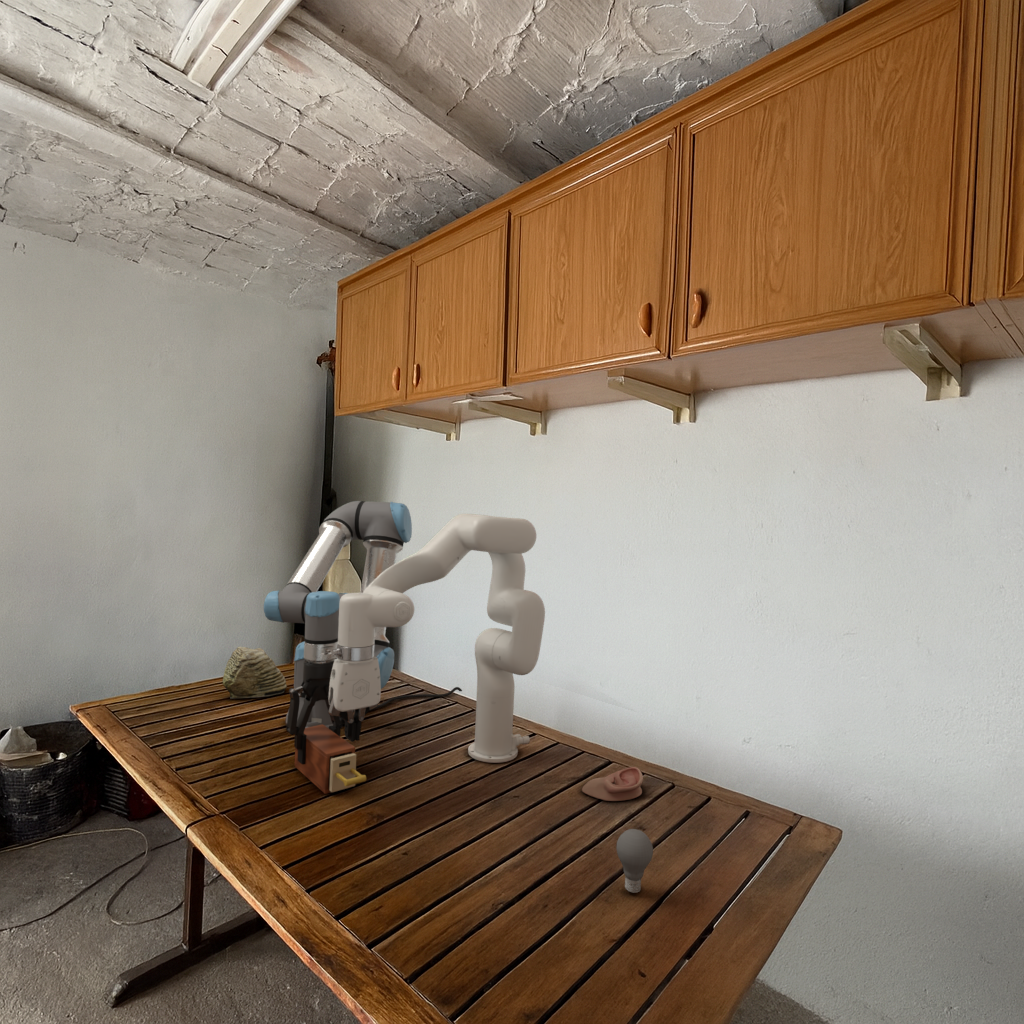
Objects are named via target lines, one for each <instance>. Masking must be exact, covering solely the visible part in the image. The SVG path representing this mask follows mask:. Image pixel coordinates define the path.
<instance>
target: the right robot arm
mask: <svg viewBox="0 0 1024 1024" xmlns="http://www.w3.org/2000/svg"><path fill="white" fill-rule="evenodd" d="M536 542H537V530H536V528H535V526H534V524H533V523H532V522H531V521H529V520H528V519H526V518H519V517H507V516H495V515H494V516H493V515H486V514H474V513H459V514H456V515H455V516H453V517H452V518H451V519H450V520H448V521H447V523H445V525H444V526H443V527H441V529H439V530H438V531H437V532H436V534H434V535H433V536H432V537H431V539H429V540H428V541H427V542H426V543H425V544H424V545H423V546H422V547H421V548H420V549H419V550H417V551H416V552H414V553H412V554H410V555H408V556H406V557H405V558H403V559H400V560H398V562H396V563H395V564H394V565H392V566H391V567H389V568H387V569H386V570H385V571H383V572H382V573H381V574H380V575H379V576H378V577H377V578H376V579H375V580H374V581H373V582H372V583H371V584H370V585H369V586H368V587H367V588H366V589H365V590H364V592H363V593H360V592H347V593H348V594H344V595H343V596H342V597H341V599H340V603H339V626H338V645H337V649H335V650H332V652H331V654H332V656H336V657H337V659H335V660H334V663H333V667H332V672H331V677H330V685H329V705H330V708H329V712H328V713H329V714H330V715H332V716H341V717H342V718H343V719H344V720H345V724H344V736H345V738H346V739H347V740H348V741H349V742H352V743H353V742H355V741H356V742H357V741H360V739H361V738H360V735H361V733H362V721H364V719H365V716H366V715H367V714H368V712H370V711H369V710H371V709H373V708H376V707H377V706H378V705H379V703H380V702H381V699H382V698H381V697H382V689H381V681H380V669H379V663H378V658H377V657H374V642H375V627H386V628H400V627H403V626H405V625H407V624H408V623H409V622H410V621H411V620H412V619H413V617H414V615H415V605H414V602H413V600H412V599H411V597H409V596H408V595H406V594H405V592H407V591H409V590H410V589H413V588H414V587H417V586H420V585H424V584H429V583H432V582H437V581H439V580H441V579H443V578H445V577H447V576H448V575H449V573H450V572H451V571H452V570H453V569H454V568H455V567H457V565H458V564H459V563H460V562H462V560H463V559H464V558H465V557H466V555H468V554H469V553H470V552H471V551H475V552H483V553H488V555H489V558H490V560H491V566H492V569H491V570H492V571H491V579H490V585H489V591H488V598H487V603H486V604H487V605H486V611H487V612H486V613H487V616H488V618H489V619H490V620H492V621H493V622H495V623H497V624H501V625H505V626H508V627H511V628H512V629H511V631H510V630H506V629H503V628H497V627H490V628H486V629H484V630H482V631H481V632H480V633H479V635H478V636H477V638H476V640H475V642H474V658H475V664H476V698H475V699H476V700H475V702H476V703H475V725H474V742H472V743H470V745H469V746H468V747H467V748H468V749H467V753H468V755H469V756H470V757H471V758H472V759H474V760H476V761H479V762H483V763H488V764H489V763H490V764H501V763H507V762H509V761H512V760H514V759H516V758H517V756H518V754H519V753H518V752H519V749H518V747H519V746H520V745H528V744H530V743H531V738H530V736H529V735H523V736H522V734H520V733H517V734H514V733H513V732H514V731H513V728H514V707H515V690H516V689H515V677H514V675H517V676H525V675H528V674H530V673H531V672H532V671H533V670H534V669H535V668H536V666H537V664H538V661H539V657H540V652H541V647H542V639H543V634H544V626H545V619H546V608H545V607H546V606H545V604H544V601H543V599H542V598H541V596H540V595H539V594H538V593H536V592H534V591H532V590H527V589H525V580H526V579H525V578H526V561H525V559H524V556H523V554H526V553H527V552H529V551H531V550H532V548H533V547H534V546H535V544H536ZM353 710H354V712H353ZM371 711H372V710H371Z"/></svg>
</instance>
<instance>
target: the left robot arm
mask: <svg viewBox="0 0 1024 1024" xmlns="http://www.w3.org/2000/svg"><path fill="white" fill-rule="evenodd" d="M412 533H413V523H412V516H411V512H410V509H409V508H408V506H407V505H406V504H405V503H401V502H393V501H371V500H370V501H369V500H367V501H366V500H365V501H364V500H354V501H350V502H347V503H345V504H343V505H341V506H339V507H337V508H336V509H334V510H333V511H332V512H331V513H329V515H327V516H326V517H325V518H324V519H323V521H322V523H321V524H320V526H319V528H318V535H317V537H316V539H314V541H313V543H312V544H311V546H310V547H309V549H308V551H307V552H306V554H305V555H304V557H303V558H302V560H301V561H300V563H299V565H298V566H297V568H296V569H295V570H294V572H293V574H292V576H291V577H290V579H289V580H288V582H287V583H286V585H285V586H284V587H283V589H282V590H280V589H279V590H272V591H269V592H268V593H267V595H266V596H265V598H264V602H263V613H264V616H265V618H266V619H267V620H268V621H270V622H271V621H272V622H278V623H283V624H284V623H287V624H288V623H289V624H290V623H291V624H304V641H302V642H299V643H298V644H297V645H296V647H295V652H294V653H295V654H294V659H293V661H294V670H293V671H294V672H293V687H290V688H289V690H288V693H289V698H290V699H289V706H288V711H287V713H286V715H285V726H286V728H285V729H286V732H287V733H289V734H290V735H291V736H293V735H294V744H293V745H294V749H295V748H296V749H297V750H298V761H299V762H300V763H301V764H302V765H303V764H305V761H306V736H307V735H305V734H304V730H305V728H308V727H313V726H317V725H322V724H323V725H324V726H326V727H327V728H329V729H330V730H331V731H333V732H334V733H336V734H337V735H338V736H340V737H341V729H343V726H344V725H345V720H344V719H343V718H342V717H341V716H332V715H330V714H329V713H328V712H329V708H330V705H329V685H330V677H331V672H332V667H333V663H334V660H335V659H337V657H336V656H332V654H331V652H332V650H335V649H337V645H338V626H339V603H340V599H341V597H342V596H343V595H344V594H348V593H349V592H339V593H338V592H336V591H329V590H328V591H327V590H320V591H319V589H320V587H321V586H322V584H323V582H324V580H325V579H326V577H327V575H328V574H329V572H330V570H331V569H332V567H333V565H334V563H335V562H336V560H337V558H338V556H339V555H340V553H341V552H342V550H343V548H346V547H347V546H349V545H350V543H351V542H352V541H355V540H357V541H358V540H359V541H362V545H363V546H364V548H365V549H366V556H365V562H364V568H363V574H362V580H361V587H360V592H359V593H363V592H364V590H365V589H366V588H367V587H368V586H369V585H370V584H371V583H372V582H373V581H374V580H375V579H376V578H377V577H378V576H379V575H380V574H381V573H382V572H383V571H385V570H386V569H387V568H389V567H391V566H392V565H394V564H396V563H397V562H396V561H397V556H398V554H399V553H400V552H402V551H403V549H404V544H407V543H409V542H410V541H411V539H412V535H413V534H412ZM386 630H387V627H375V642H374V657H377V658H378V663H379V669H380V681H381V690H382V689H383V688H384V687H385V686H386V685H387V684H388V682H389V680H390V678H391V675H392V673H393V670H394V664H395V651H394V649H393V648H391V647H390V640H389V639H388V638H387V637H386V632H387V631H386ZM456 691H458V692H463V689H462V688H460V687H459V686H455V687H453V688H452V689H450V690H449V691H448V692H446V693H438V694H436V693H434V694H433V693H431V694H430V693H417V694H416V693H415V694H405V695H398V696H395V697H391V698H389V699H387V700H385V701H384V702H382V703H380V704H378V706H377V707H376V708H373V709H371V710H369V711H368V712H370V711H374V710H377V709H380V708H382V707H385V706H386V705H388V704H390V703H391V702H394V701H397V700H403V699H413V698H445V697H449V696H451V695H452V694H453V693H455V692H456ZM353 712H354V710H353Z"/></svg>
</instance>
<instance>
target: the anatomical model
mask: <svg viewBox="0 0 1024 1024" xmlns="http://www.w3.org/2000/svg"><path fill="white" fill-rule="evenodd" d="M643 782H644V775H643V773H642V771H641V770H640V769H639V768H638V767H637V766H630V767H625V768H623V769H620V770H617V771H615V772H613V773H610V774H608V775H605V776H604V777H596V778H595V777H594V778H592V779H590V780H588V781H587V782H586V783H585V784H584V785H583V786H582V788H581V792H582V793H583V794H585V795H587V796H590V797H593V798H595V799H598V800H602V801H606V802H619V801H621V802H622V801H628V800H633V799H635V798H638V797H640V796H641V795H642V793H643V789H642V787H641V786H642V784H643Z"/></svg>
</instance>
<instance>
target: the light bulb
mask: <svg viewBox="0 0 1024 1024" xmlns="http://www.w3.org/2000/svg"><path fill="white" fill-rule="evenodd" d="M615 849H616V854H617V857H618V859H619V861H620V863H621V865H622V867H623V873H624V874H623V875H624V876H625V878H624V888H625V890H627V891H628V892H630V893H634V894H635V893H639V892H640V891H641V889H642V887H641V886H642V879H643V877H644V875H645V871H646V868H647V867H648V866H649V864H650V863H651V861H652V859H653V855H654V847H653V843H652V841H651V838H649V836H648V835H647V834H646V833H645V832H643V831H642V830H641V829H636V828H629V829H627V830H625V831H623V832H622V833H621V834H620V835H619V837H618V839H617V841H616V847H615Z"/></svg>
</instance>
